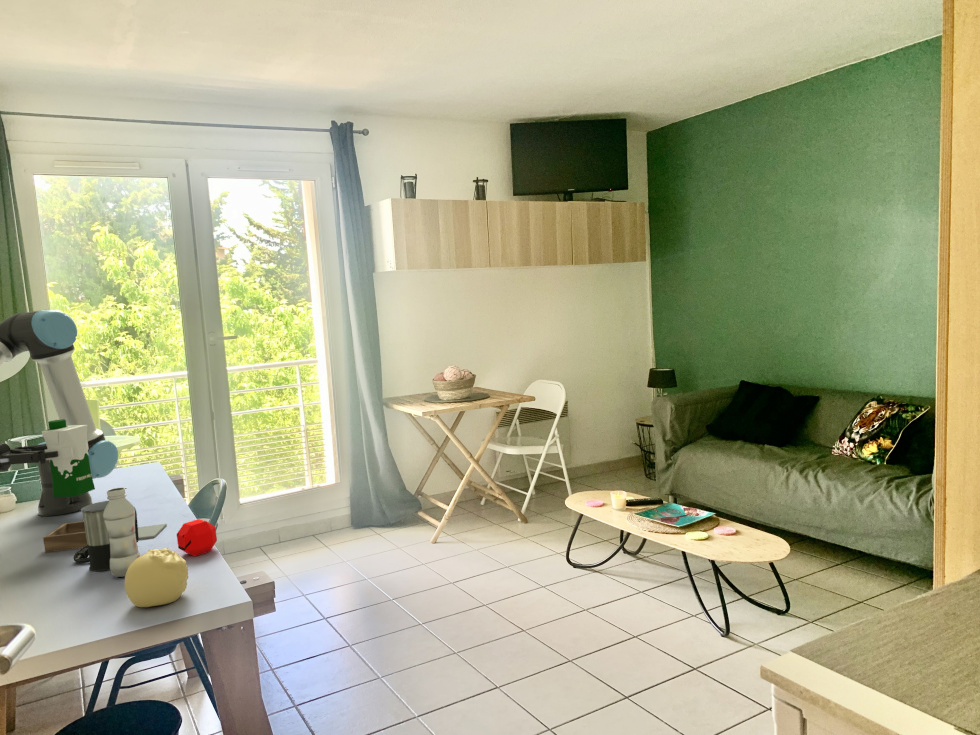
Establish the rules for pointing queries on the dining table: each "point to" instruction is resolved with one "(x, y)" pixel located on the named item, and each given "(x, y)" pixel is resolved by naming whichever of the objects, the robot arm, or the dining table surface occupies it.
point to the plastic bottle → (120, 531)
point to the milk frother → (97, 538)
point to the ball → (196, 537)
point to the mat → (150, 531)
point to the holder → (66, 537)
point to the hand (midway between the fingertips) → (80, 448)
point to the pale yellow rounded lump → (156, 578)
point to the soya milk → (69, 459)
